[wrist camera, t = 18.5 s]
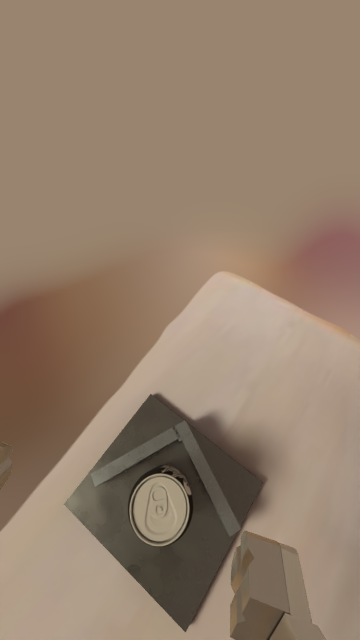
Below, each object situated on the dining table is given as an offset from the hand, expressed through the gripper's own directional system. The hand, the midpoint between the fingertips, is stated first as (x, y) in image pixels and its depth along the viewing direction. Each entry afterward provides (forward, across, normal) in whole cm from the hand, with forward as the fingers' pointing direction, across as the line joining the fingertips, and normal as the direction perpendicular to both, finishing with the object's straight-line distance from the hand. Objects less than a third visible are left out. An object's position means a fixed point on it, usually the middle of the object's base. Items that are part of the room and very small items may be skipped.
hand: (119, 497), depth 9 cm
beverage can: (+21, +1, -25) cm, 33 cm away
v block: (+21, +1, -26) cm, 34 cm away
